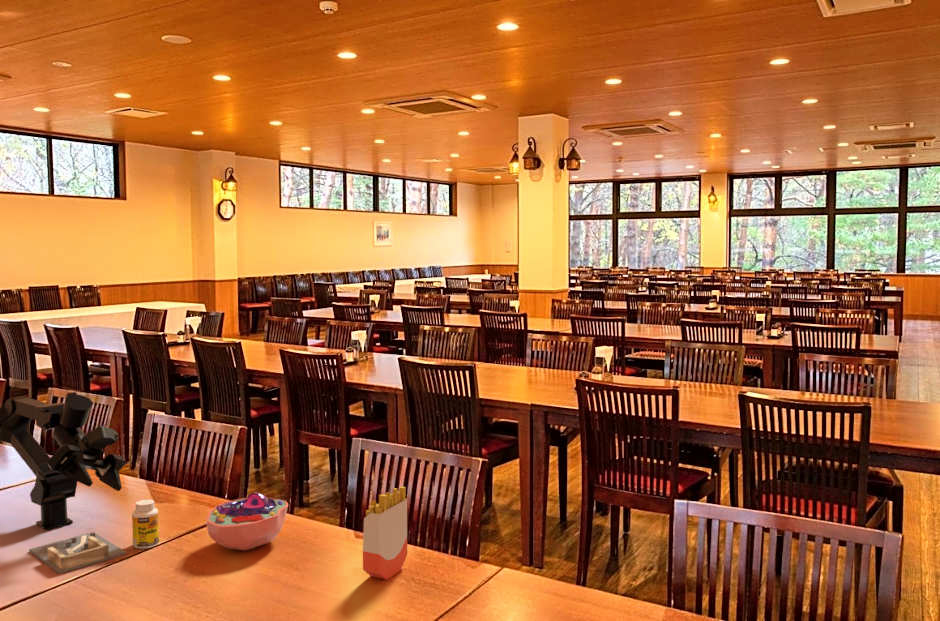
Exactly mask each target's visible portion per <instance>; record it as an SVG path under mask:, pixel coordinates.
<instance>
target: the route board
mask: <svg viewBox="0 0 940 621" xmlns="http://www.w3.org/2000/svg"><path fill="white" fill-rule="evenodd" d="M90 536H93V537H95V538H97V539H98V540H100V541H102V542H103V543H105V544H106V545H108V547H109V557H106V558H103V559H99V560H96V561H93V562H89V563H86V564H82V565H79V566H76V567H72V568H69V569H65V570H62V569H61V568H60V567H58V566H57V565H55V564H54V563H53V562H51V561H50V560H49V559H48V548H49V547H54V548H55V549H56V550H58V551H59V552H61V553H62V554H64V555H65V556H68V555H71V554H75V553H78V552H82V551H85V550H89V548H88V537H90ZM28 550H29V553H30V554H32V555H33V556H34V557H36V558H37V559H38V560H40V561H41V562H43V563H44V564H46V565H47V566H48V567H50V568H51V569H52V570H54V572H56V573H57V574H59V575H60V574H65V573H67V572H71V571H75V570H78V569H82V568H84V567H89V566H91V565H94V564H95V565H96V564H99V563H101V562H105V561H108V560H113V559H114V558H118V557H121V556H125V555H126V554H127V551H126V550H124V549H122V548H121V547H119V546H117V545H116V544H114V543H112V542H111V541H109V540H107V538H106V539H105V538H104V537H102V536H101V535H99V534H97V533H96V532H94V531H92V532H87V533H85V534H80V535H77V536H74V537H69V538H65V539H63V540H59V541H54V542H51V543H48V544H43V545H40V546H36V547H32V548H29V549H28Z"/></svg>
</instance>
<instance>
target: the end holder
mask: <svg viewBox="0 0 940 621" xmlns="http://www.w3.org/2000/svg"><path fill="white" fill-rule="evenodd" d="M88 548H89V550H85V551H82V552H78V553H75V554H71V555H68V556H65V555H64V554H62V553H61V552H59V551H58V550H56V549H55V548H54V547H49V548H48V559H49V560H50V561H51V562H53V563H54V564H55V565H57V566H58V567H60V568H61V569H62V570H65V569H69V568H72V567H76V566H79V565H82V564H86V563H89V562H93V561H96V560H99V559H103V558H106V557H109V547H108V545H106V544H105V543H103V542H102V541H100V540H98V539H97V538H95V537H93V536H90V537H88Z"/></svg>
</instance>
